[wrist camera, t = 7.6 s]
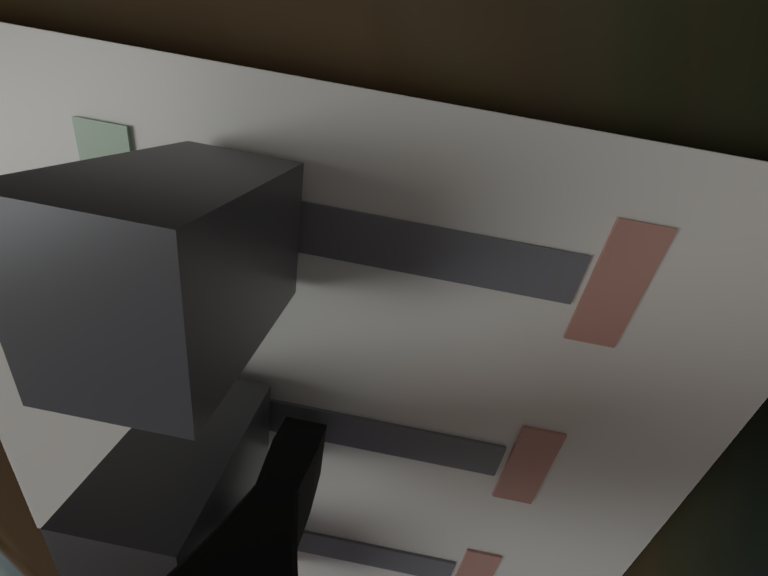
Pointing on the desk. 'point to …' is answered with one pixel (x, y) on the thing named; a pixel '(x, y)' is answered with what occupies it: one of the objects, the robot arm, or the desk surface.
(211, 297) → the block
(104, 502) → the block
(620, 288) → the breaker panel
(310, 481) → the robot arm
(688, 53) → the desk surface
